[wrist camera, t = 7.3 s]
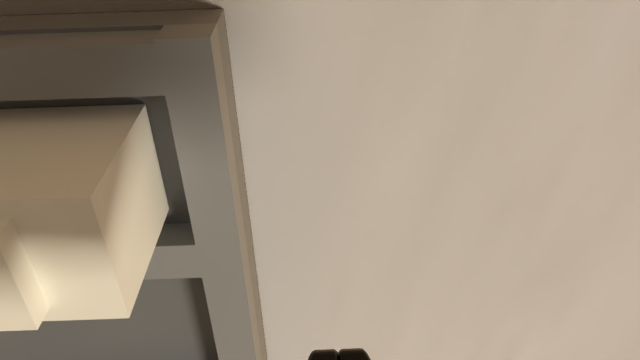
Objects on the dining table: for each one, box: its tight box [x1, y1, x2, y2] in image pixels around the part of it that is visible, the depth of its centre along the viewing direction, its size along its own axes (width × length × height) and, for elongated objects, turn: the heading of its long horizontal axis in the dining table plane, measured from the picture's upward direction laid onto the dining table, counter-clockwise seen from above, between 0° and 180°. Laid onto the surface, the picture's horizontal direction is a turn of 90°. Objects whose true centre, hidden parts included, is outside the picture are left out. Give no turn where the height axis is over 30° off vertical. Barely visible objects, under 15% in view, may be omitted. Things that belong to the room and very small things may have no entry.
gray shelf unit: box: [0, 9, 267, 360], centre depth 17 cm, size 19×16×2 cm
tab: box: [0, 104, 169, 331], centre depth 12 cm, size 3×4×5 cm
